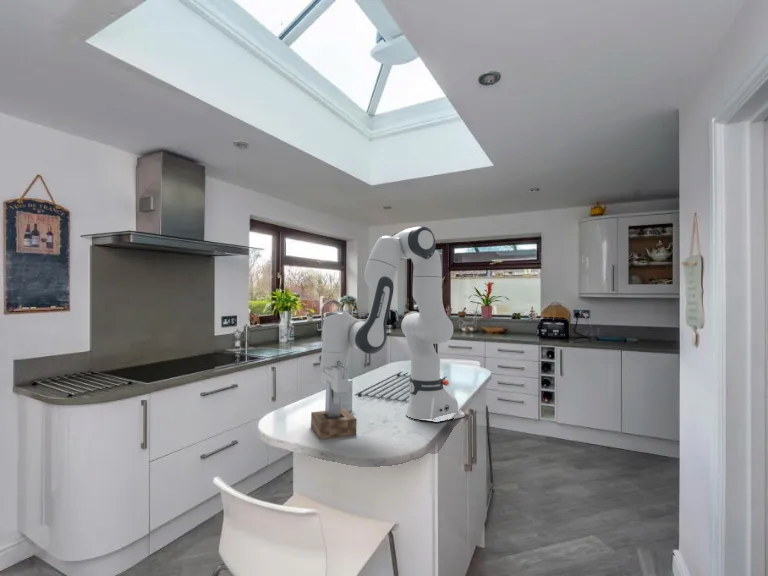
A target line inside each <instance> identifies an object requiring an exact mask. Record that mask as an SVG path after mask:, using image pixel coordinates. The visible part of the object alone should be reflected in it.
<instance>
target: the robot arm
mask: <svg viewBox="0 0 768 576" xmlns="http://www.w3.org/2000/svg"><path fill="white" fill-rule="evenodd" d="M436 248H437V246H436V238H435V234H434V233H433V231H432V230H431V229H430V228H429V227H426V226H420V225H419V226H415V227H410V228H405V229H404V230H401V231H399V232H395V233H394V234H392V235H391V236H390V235H383V236H381V237H379V238H378V239H377V240H376V242H375V244H374V245H373V247H372V249H371V252H370V254H369V256H368V259H367V263H366V265H365V268H364V273H363V274H364V275H363V277H364V281H365V283H366V285H367V286H368V287H369V288H370V290H372V301H371V304H370V308H369V312H368V317H367V319H366V320H360V319H358V318H356V317H354V316H352V315H351V314H350V313H348V312H347V311H346V310H334V311H330V312H328V313H326V314H325V315H324V319H323V322H322V334H321V339H322V347H321V353H320V354H319V357H318V360H319V362H320V365H319V367H320V369H319V370H320V372H319V373H320V380H321V382H322V383H324V384H325V385H326V381H328V382H329V383H330V388H331V389H332V390H333V393H334V396H333V403H334V404H338V403H339V397H340V394H343V393H347V392H348V379H349V372H348V369H347V368H346V367H345V366H348V364H349V348H354V349H357V350H360V352H361V351H362V352H364V353H366V354H369V355H373V354H377V353H378V352H380V351H381V350H382V349H383V348H384V347H385V344H386V342H387V323H388V318H389V314H390V308H391V305H392V300H393V295H394V290H395V289H394V282H395V277H396V273H397V271H398V268H399V263H400V262H401V260H406V259H407V260H411V262H412V265H413V271H412V272H413V273H412V298H413V300H414V301H415V303H416V305H417V307H418V312H413V313H410V314H407V315H406V316H405V317H404V318H403V319H402V320H401V325H400V327H401V332H402V334H403V335H404V336H405V339H406V342H407V344H408V350H409V355H410V377H409V390H408V391H409V397H408V398H409V399H408V405H407V407H406V408H407V409H406V412H405V416H406V415H407V416H408V417H407V416H406V417H407V418H409V417H411V418H415V419H432V420H433V419H434V418H436V417H439V416H443V415H447V414H451V413H457V414H456V415H455V416H454V419H453V420H456V419H460V418H464V417H465V413H464V411H462V410H461V409H459V404H458V400H457V398H456V397H455V396H453V395H452V393H450V392H449V391H447V389H445V387H444V386H446V387H447V386H449V380H448V379H447V380H446V379H442V378H441V377H440V376H441V359H440V356H439V355H438V353H437V352H436V349H435V346H434V344H436V345H437V344H444V343H447V342H449V340H451V339H452V337H453V334H454V324H453V322H452V320H451V319H450V318H449V317H448V315H447V313H446V310H445V307H444V303H443V298H442V297H443V296H442V295H443V293H442V287H443V286H442V285H443V284H442V283H443V282H442V280H443V274H442V273H443V271H442V268H443V267H442V260H441V256H440V255H441V254H440V253H439V251H438V250H436ZM458 409H459V410H460V411H459V410H458ZM411 418H410V419H411ZM434 420H435V419H434Z"/></svg>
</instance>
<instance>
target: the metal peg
mask: <svg viewBox="0 0 768 576" xmlns="http://www.w3.org/2000/svg"><path fill="white" fill-rule="evenodd" d="M333 396H334V393H333V390H332V389H331V388H330V383H329V382H328V381H326V384H325V409H324V411H325V417H326V418H327V419H333V418H340V408H341V394H340V397H339V403H338V404H334V403H333Z"/></svg>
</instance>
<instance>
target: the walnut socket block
mask: <svg viewBox="0 0 768 576" xmlns="http://www.w3.org/2000/svg"><path fill="white" fill-rule="evenodd" d="M310 417H311V418H310V421H311V422H310V428H311V429H312V430H313V432H314V433H315V435H317V437H318V439H319V440H323V439H325V440H326V439H333V438H340V437H347V436H353V435H357V425H358V424H357V420H358V419H357V417H355V416H354V415H353V414H352V413H350V411H347V410H346V409H340V418H333V419H327V418H326V417H325V410H319V411H312V412H311V415H310Z"/></svg>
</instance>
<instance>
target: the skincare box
mask: <svg viewBox="0 0 768 576" xmlns="http://www.w3.org/2000/svg"><path fill="white" fill-rule="evenodd" d="M340 409H346V410H347V411H348V412H350V411H353V379H350V378H348V392H347V393H343V394H341V408H340Z"/></svg>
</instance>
